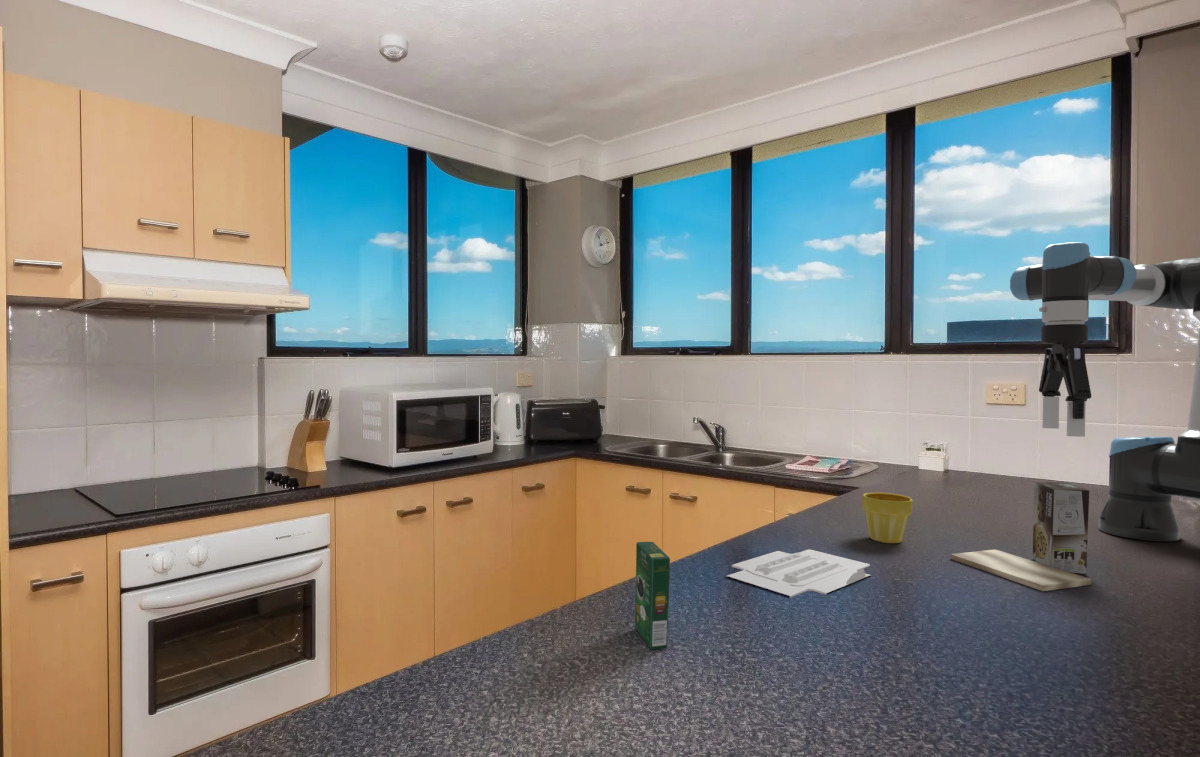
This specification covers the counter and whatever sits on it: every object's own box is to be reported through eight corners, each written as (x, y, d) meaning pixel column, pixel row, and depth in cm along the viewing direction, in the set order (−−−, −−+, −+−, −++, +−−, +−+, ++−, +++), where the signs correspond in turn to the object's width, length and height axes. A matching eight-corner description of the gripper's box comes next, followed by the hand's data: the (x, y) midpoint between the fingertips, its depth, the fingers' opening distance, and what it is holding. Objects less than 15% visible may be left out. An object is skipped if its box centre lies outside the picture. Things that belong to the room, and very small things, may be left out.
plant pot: (902, 534, 158) (903, 492, 157) (918, 546, 147) (919, 502, 147) (856, 532, 159) (857, 491, 158) (869, 545, 148) (870, 500, 148)
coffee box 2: (1088, 574, 129) (1091, 490, 129) (1050, 572, 131) (1053, 488, 130) (1065, 560, 138) (1068, 481, 138) (1030, 558, 140) (1033, 480, 139)
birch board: (995, 554, 142) (995, 549, 142) (1091, 584, 124) (1091, 579, 123) (950, 558, 139) (950, 554, 138) (1042, 591, 120) (1043, 585, 120)
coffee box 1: (670, 649, 94) (671, 556, 94) (650, 651, 93) (651, 557, 93) (652, 627, 102) (653, 540, 101) (634, 628, 101) (635, 541, 101)
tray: (710, 576, 128) (711, 556, 128) (793, 554, 146) (794, 537, 146) (807, 607, 112) (808, 585, 112) (886, 578, 131) (887, 559, 131)
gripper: (1022, 326, 146) (1021, 424, 146) (1065, 321, 122) (1063, 439, 123) (1063, 325, 143) (1061, 425, 144) (1114, 320, 120) (1112, 440, 120)
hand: (1062, 432), depth 133 cm, fingers open, 13 cm apart
